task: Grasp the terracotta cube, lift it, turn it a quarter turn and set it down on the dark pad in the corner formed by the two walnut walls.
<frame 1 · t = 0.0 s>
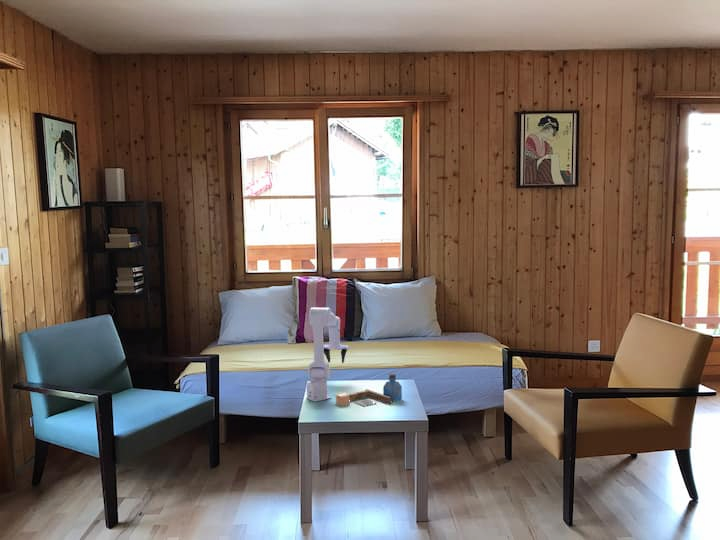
hand: (336, 362, 332), 11 cm above the table, tool pointing down, fingers open, 7 cm apart
perfume bottle: (392, 399, 298), on the table
terracotta cube: (342, 404, 292), on the table
corner arena: (365, 403, 292), on the table
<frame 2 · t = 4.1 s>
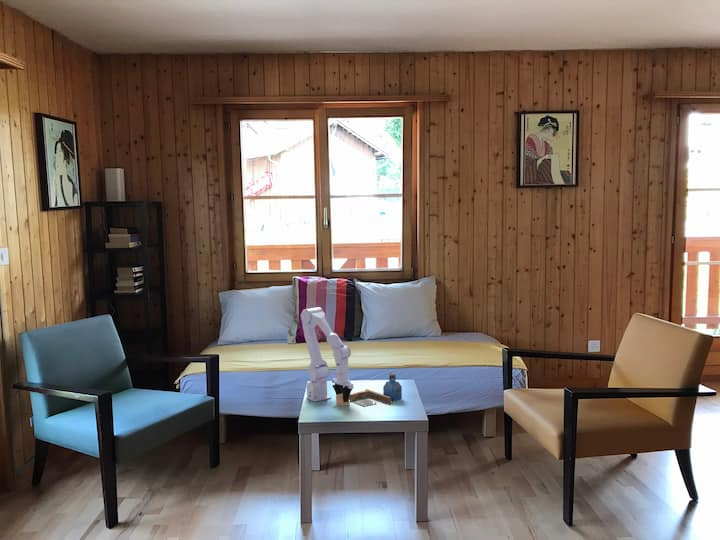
hand: (342, 400, 292), 2 cm above the table, tool pointing down, fingers closed on terracotta cube, 4 cm apart
terracotta cube: (342, 404, 292), on the table, touching gripper
everything else where it was.
when the fingers open (3 cm above the table, at t = 7.9 s): terracotta cube drops 1 cm, resting on corner arena.
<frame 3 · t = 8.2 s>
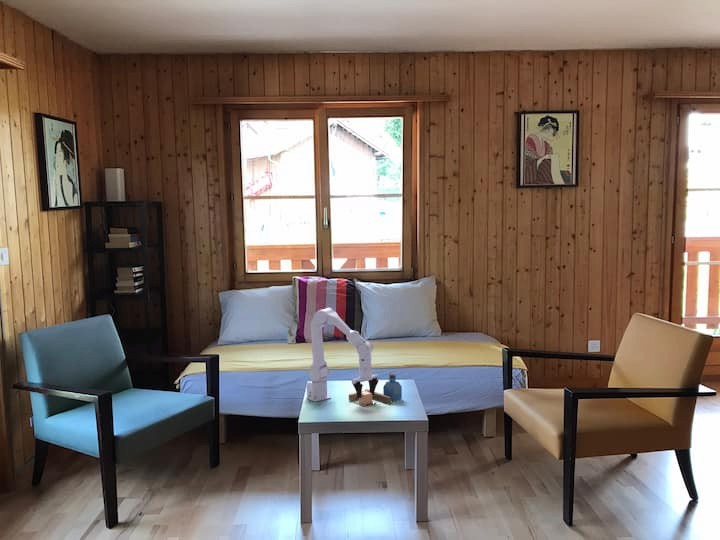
hand: (365, 396, 292), 3 cm above the table, tool pointing down, fingers open, 7 cm apart
terracotta cube: (365, 402, 292), resting on corner arena
everything else where it was.
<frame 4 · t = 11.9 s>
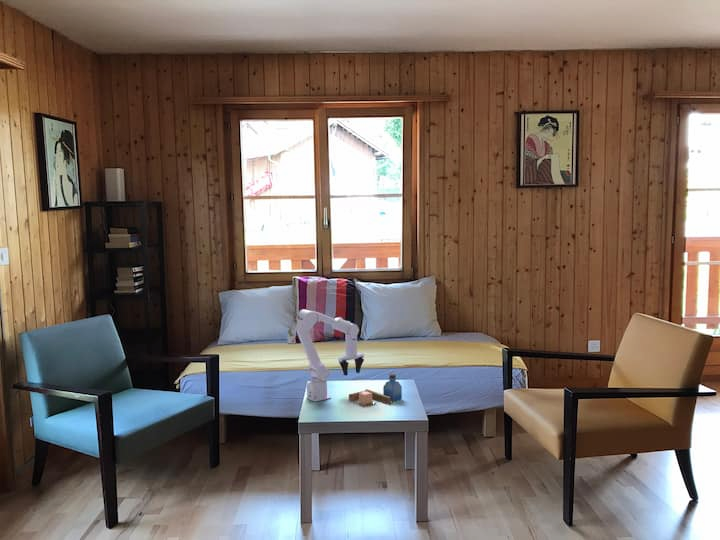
hand: (351, 373, 310), 9 cm above the table, tool pointing down, fingers open, 7 cm apart
nothing on the table moved.
at the end: terracotta cube 0.1 cm off-centre on the corner arena, point 0.3 cm above the corner arena's base; terracotta cube tilted 0°; the gripper is holding nothing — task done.
